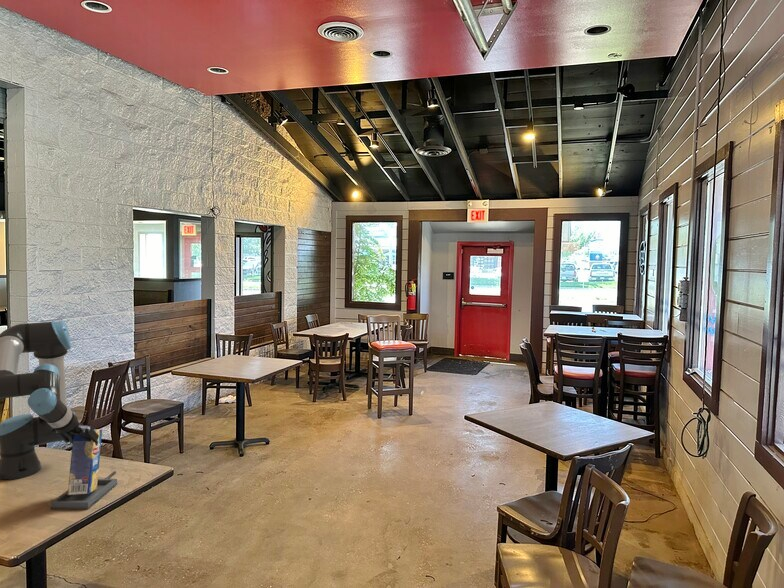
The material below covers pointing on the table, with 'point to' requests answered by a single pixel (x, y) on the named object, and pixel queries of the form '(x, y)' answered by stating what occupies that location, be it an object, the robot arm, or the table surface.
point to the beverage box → (84, 465)
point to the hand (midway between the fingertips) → (91, 447)
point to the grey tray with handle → (85, 496)
